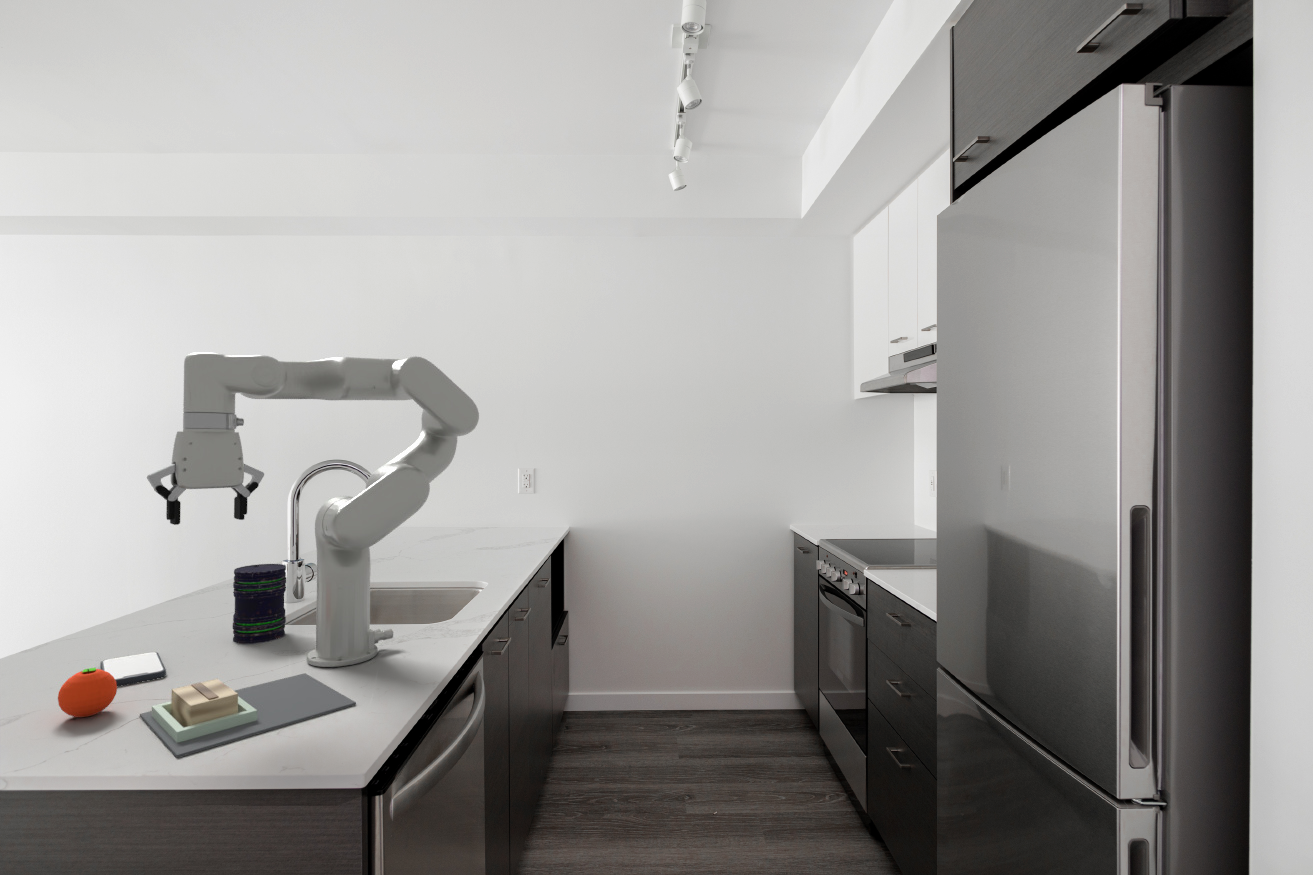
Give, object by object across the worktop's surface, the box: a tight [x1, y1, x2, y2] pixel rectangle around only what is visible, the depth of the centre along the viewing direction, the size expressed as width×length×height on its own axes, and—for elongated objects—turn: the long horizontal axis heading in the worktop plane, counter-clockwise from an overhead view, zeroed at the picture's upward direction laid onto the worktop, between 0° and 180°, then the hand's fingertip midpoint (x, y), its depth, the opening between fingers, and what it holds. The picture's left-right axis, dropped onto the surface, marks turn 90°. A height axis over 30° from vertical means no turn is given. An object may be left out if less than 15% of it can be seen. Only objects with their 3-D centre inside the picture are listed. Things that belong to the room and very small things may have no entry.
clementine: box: [57, 667, 118, 718], centre depth 101 cm, size 8×7×7 cm
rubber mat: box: [139, 672, 357, 759], centre depth 103 cm, size 24×20×1 cm
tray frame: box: [151, 696, 257, 743], centre depth 99 cm, size 10×14×2 cm
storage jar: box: [232, 563, 287, 645], centre depth 142 cm, size 10×10×15 cm
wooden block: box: [170, 678, 238, 727], centre depth 99 cm, size 10×6×4 cm, turn 50°
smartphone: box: [99, 651, 167, 687], centre depth 120 cm, size 9×2×16 cm
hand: (208, 521), depth 115 cm, fingers open, 9 cm apart
